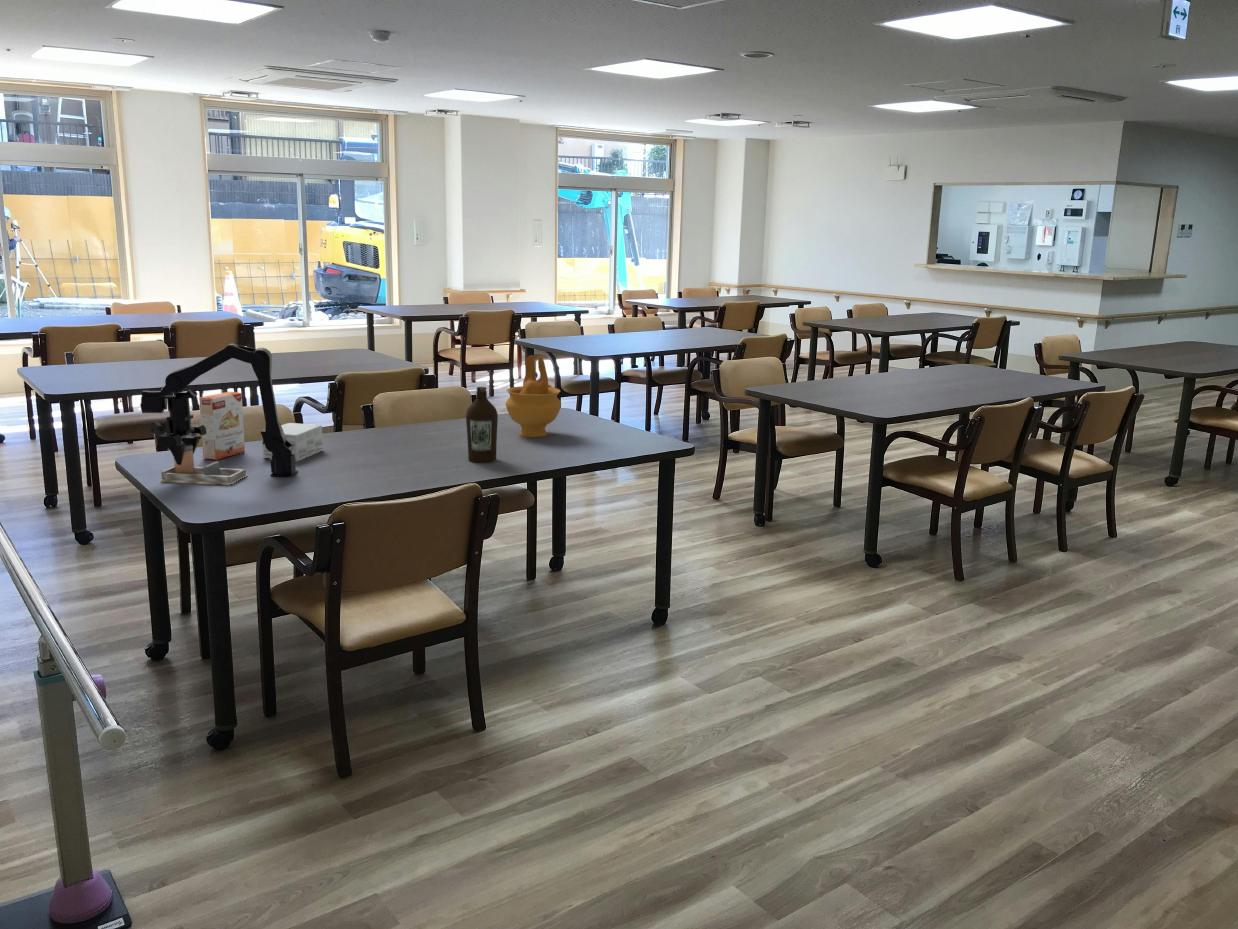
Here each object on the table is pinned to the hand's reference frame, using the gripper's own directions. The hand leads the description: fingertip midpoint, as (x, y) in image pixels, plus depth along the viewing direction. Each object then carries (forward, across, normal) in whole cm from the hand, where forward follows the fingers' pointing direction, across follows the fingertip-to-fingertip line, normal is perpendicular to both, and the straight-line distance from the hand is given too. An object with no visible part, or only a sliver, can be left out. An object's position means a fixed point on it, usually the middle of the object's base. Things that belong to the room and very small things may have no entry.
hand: (184, 462), depth 301 cm
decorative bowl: (+5, -86, +92) cm, 126 cm away
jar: (+3, 0, 0) cm, 3 cm away
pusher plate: (+5, 0, +9) cm, 10 cm away
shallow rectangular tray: (+5, 0, +6) cm, 8 cm away
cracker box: (+5, -30, -3) cm, 31 cm away
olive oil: (+5, -41, +83) cm, 93 cm away
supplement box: (+5, -36, +19) cm, 41 cm away
